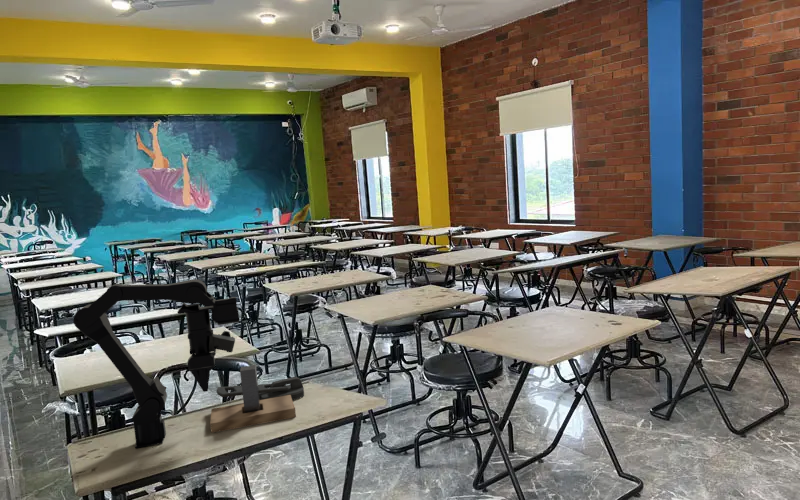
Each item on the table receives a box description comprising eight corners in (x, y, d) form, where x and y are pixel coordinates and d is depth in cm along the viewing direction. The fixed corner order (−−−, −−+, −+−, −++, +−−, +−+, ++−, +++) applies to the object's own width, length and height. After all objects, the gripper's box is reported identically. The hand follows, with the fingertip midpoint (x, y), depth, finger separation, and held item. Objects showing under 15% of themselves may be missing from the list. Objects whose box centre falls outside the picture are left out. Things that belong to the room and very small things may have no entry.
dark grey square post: (245, 421, 154) (240, 371, 153) (246, 415, 158) (241, 367, 157) (260, 418, 155) (255, 368, 154) (261, 413, 159) (255, 365, 158)
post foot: (211, 432, 148) (210, 423, 148) (212, 417, 159) (211, 408, 159) (295, 416, 154) (294, 408, 154) (291, 403, 165) (290, 394, 165)
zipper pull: (214, 386, 166) (296, 368, 177) (217, 408, 167) (298, 389, 178) (219, 394, 158) (305, 375, 169) (222, 417, 159) (307, 397, 170)
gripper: (231, 330, 141) (238, 391, 142) (231, 317, 159) (237, 371, 160) (184, 336, 138) (191, 399, 139) (189, 323, 155) (195, 378, 157)
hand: (206, 386), depth 149 cm, fingers open, 9 cm apart
